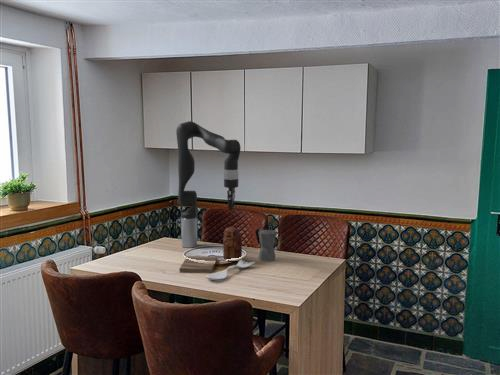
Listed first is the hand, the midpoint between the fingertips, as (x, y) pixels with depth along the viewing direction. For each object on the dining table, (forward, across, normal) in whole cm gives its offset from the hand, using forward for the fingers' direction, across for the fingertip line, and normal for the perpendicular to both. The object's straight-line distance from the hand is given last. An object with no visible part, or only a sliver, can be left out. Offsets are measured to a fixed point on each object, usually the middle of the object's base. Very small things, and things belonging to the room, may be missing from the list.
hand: (231, 208), depth 256 cm
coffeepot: (+28, -4, +18) cm, 34 cm away
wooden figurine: (+28, 0, 0) cm, 28 cm away
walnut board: (+28, +11, -16) cm, 34 cm away
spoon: (+29, +22, +1) cm, 36 cm away
